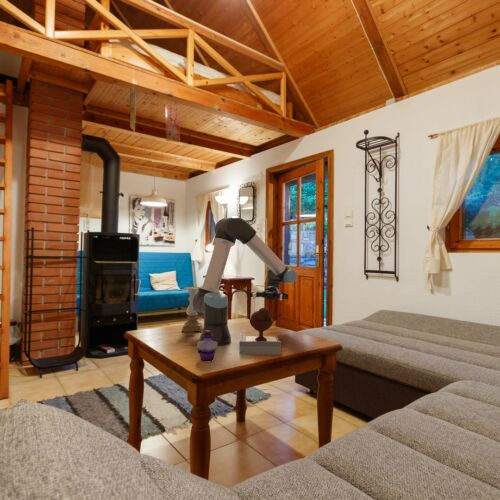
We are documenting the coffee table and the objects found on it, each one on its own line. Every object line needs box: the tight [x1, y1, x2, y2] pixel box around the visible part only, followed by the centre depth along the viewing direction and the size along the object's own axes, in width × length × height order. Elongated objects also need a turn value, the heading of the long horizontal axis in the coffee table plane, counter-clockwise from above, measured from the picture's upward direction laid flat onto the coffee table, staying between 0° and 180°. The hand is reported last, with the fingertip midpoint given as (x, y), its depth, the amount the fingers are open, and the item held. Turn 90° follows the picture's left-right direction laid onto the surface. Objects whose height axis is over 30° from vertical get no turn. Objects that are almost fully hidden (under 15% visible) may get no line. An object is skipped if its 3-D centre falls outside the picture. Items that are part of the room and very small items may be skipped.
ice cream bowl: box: [248, 307, 274, 341], centre depth 160 cm, size 11×11×15 cm
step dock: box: [238, 331, 282, 356], centre depth 159 cm, size 18×18×6 cm
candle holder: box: [181, 286, 203, 333], centre depth 195 cm, size 11×11×24 cm
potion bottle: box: [196, 330, 218, 362], centre depth 142 cm, size 9×9×12 cm
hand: (266, 297), depth 172 cm, fingers open, 13 cm apart
